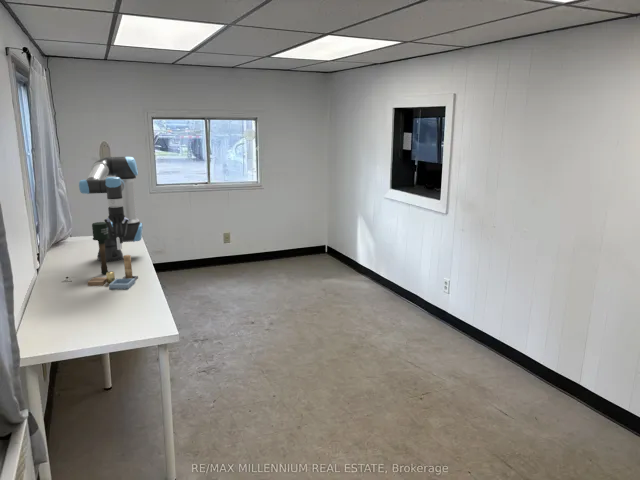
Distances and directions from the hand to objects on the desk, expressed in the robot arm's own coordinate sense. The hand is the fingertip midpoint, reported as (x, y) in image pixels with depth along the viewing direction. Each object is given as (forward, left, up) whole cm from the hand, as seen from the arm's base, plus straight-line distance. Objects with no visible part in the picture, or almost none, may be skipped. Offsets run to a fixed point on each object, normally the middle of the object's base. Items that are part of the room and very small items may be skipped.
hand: (119, 249), depth 260 cm
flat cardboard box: (+4, -12, -19) cm, 22 cm away
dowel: (-1, +3, -18) cm, 18 cm away
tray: (+9, +3, -18) cm, 20 cm away
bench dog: (+4, -5, -18) cm, 19 cm away
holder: (-1, +3, -18) cm, 18 cm away
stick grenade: (-12, -15, -18) cm, 26 cm away
